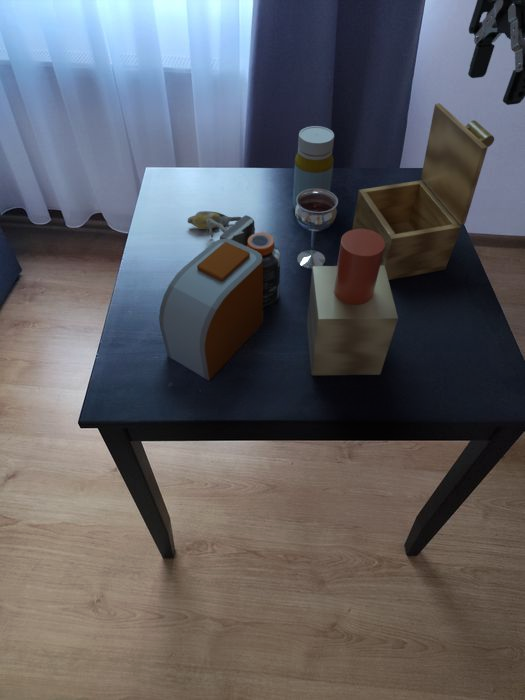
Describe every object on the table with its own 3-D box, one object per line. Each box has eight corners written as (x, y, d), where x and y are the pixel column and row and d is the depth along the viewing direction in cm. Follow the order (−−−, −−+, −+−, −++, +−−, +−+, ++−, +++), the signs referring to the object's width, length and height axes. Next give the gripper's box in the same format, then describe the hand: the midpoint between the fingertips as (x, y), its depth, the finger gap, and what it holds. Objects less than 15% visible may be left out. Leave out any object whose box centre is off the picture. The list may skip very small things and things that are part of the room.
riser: (369, 323, 75) (384, 265, 66) (380, 374, 69) (398, 318, 59) (306, 324, 75) (312, 265, 66) (311, 375, 69) (318, 319, 59)
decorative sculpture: (186, 227, 91) (181, 193, 85) (231, 211, 94) (228, 177, 88) (226, 276, 82) (223, 241, 76) (274, 257, 85) (274, 222, 79)
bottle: (334, 212, 94) (344, 137, 82) (305, 223, 91) (311, 148, 80) (314, 194, 97) (321, 121, 86) (285, 205, 95) (288, 131, 84)
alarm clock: (226, 297, 79) (220, 229, 68) (268, 318, 76) (268, 251, 65) (165, 354, 71) (147, 288, 61) (209, 381, 68) (199, 316, 58)
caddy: (381, 281, 81) (392, 238, 74) (351, 232, 90) (358, 189, 83) (445, 269, 83) (461, 226, 76) (410, 222, 91) (422, 179, 84)
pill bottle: (284, 288, 80) (287, 233, 71) (270, 312, 77) (271, 257, 68) (253, 278, 82) (251, 223, 73) (237, 301, 78) (233, 246, 70)
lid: (482, 148, 65) (516, 140, 66) (434, 103, 74) (465, 97, 74) (460, 225, 76) (490, 217, 76) (420, 178, 84) (447, 171, 84)
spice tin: (378, 284, 63) (390, 235, 57) (366, 310, 60) (377, 261, 54) (341, 273, 65) (349, 223, 59) (327, 297, 62) (334, 248, 56)
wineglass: (303, 276, 82) (307, 217, 73) (285, 252, 86) (288, 194, 77) (337, 265, 84) (346, 206, 74) (318, 243, 88) (325, 184, 78)
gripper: (631, -68, 45) (552, 110, 57) (541, -93, 54) (490, 65, 66) (559, -63, 44) (495, 117, 56) (480, -89, 53) (440, 71, 65)
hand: (492, 89), depth 61 cm, fingers open, 8 cm apart
